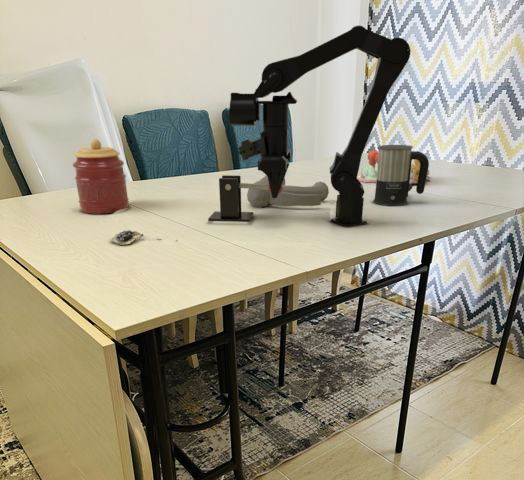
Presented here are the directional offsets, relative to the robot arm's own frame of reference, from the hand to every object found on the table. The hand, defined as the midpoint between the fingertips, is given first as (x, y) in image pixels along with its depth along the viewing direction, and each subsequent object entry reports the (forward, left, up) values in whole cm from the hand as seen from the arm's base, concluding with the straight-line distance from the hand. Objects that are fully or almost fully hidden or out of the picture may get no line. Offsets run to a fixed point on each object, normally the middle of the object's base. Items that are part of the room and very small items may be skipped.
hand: (275, 196), depth 124 cm
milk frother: (+5, -42, -6) cm, 42 cm away
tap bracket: (+6, +9, -6) cm, 12 cm away
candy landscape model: (+30, -64, -6) cm, 71 cm away
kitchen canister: (+35, +33, -6) cm, 49 cm away
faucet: (+17, -15, -6) cm, 23 cm away
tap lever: (+3, +4, +1) cm, 5 cm away
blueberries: (-2, +37, -2) cm, 37 cm away
